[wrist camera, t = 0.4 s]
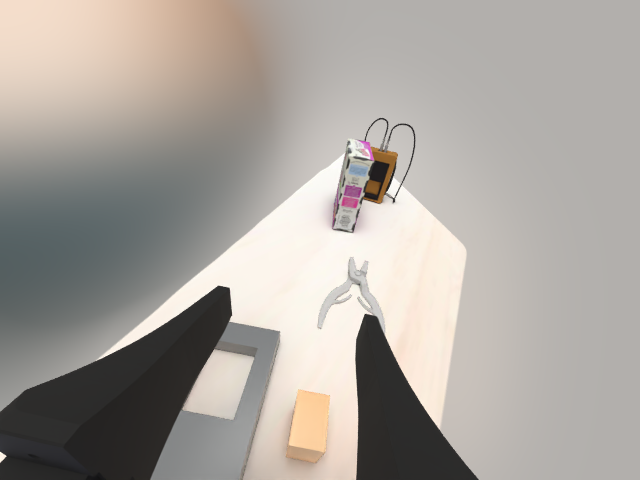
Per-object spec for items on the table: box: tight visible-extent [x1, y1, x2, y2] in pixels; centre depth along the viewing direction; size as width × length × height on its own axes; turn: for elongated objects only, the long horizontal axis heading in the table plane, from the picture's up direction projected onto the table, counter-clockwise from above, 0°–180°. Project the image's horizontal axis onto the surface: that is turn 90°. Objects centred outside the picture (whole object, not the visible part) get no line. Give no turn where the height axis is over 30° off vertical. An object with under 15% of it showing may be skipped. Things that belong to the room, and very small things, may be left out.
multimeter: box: [363, 118, 415, 203], centre depth 61 cm, size 15×10×20 cm
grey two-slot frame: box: [150, 322, 280, 480], centre depth 21 cm, size 24×10×2 cm, turn 173°
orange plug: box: [286, 389, 330, 463], centre depth 22 cm, size 4×3×6 cm
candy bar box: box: [332, 139, 374, 232], centre depth 50 cm, size 11×5×16 cm, turn 175°
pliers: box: [318, 257, 385, 335], centre depth 38 cm, size 10×2×15 cm
